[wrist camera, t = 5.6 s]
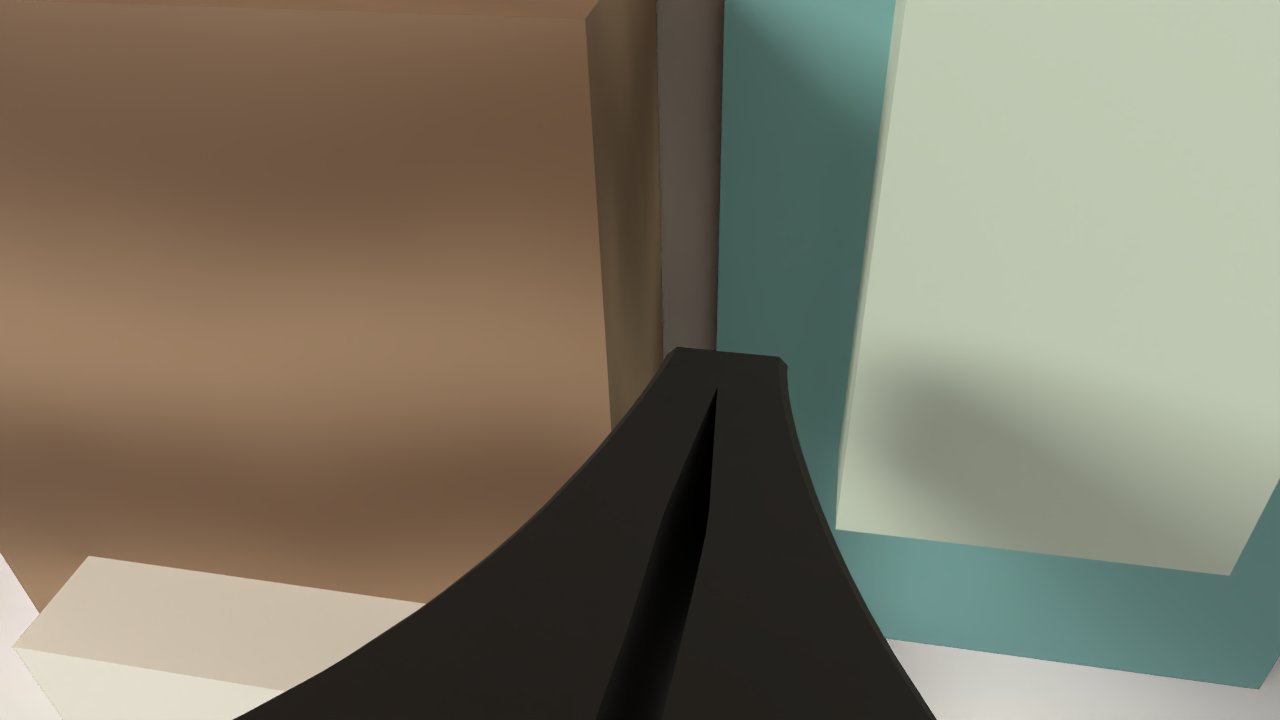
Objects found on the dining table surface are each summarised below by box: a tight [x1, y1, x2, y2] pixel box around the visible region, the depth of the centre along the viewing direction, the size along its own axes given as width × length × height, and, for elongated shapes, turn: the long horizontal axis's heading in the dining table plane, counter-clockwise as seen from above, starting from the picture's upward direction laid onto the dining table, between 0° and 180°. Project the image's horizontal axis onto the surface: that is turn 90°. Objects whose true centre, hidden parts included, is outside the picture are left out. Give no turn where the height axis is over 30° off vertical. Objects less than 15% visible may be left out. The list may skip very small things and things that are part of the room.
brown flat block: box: [0, 0, 663, 613], centre depth 17 cm, size 16×12×4 cm
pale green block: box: [836, 0, 1280, 576], centre depth 13 cm, size 9×6×2 cm, turn 2°
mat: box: [716, 0, 1280, 689], centre depth 16 cm, size 14×11×1 cm
